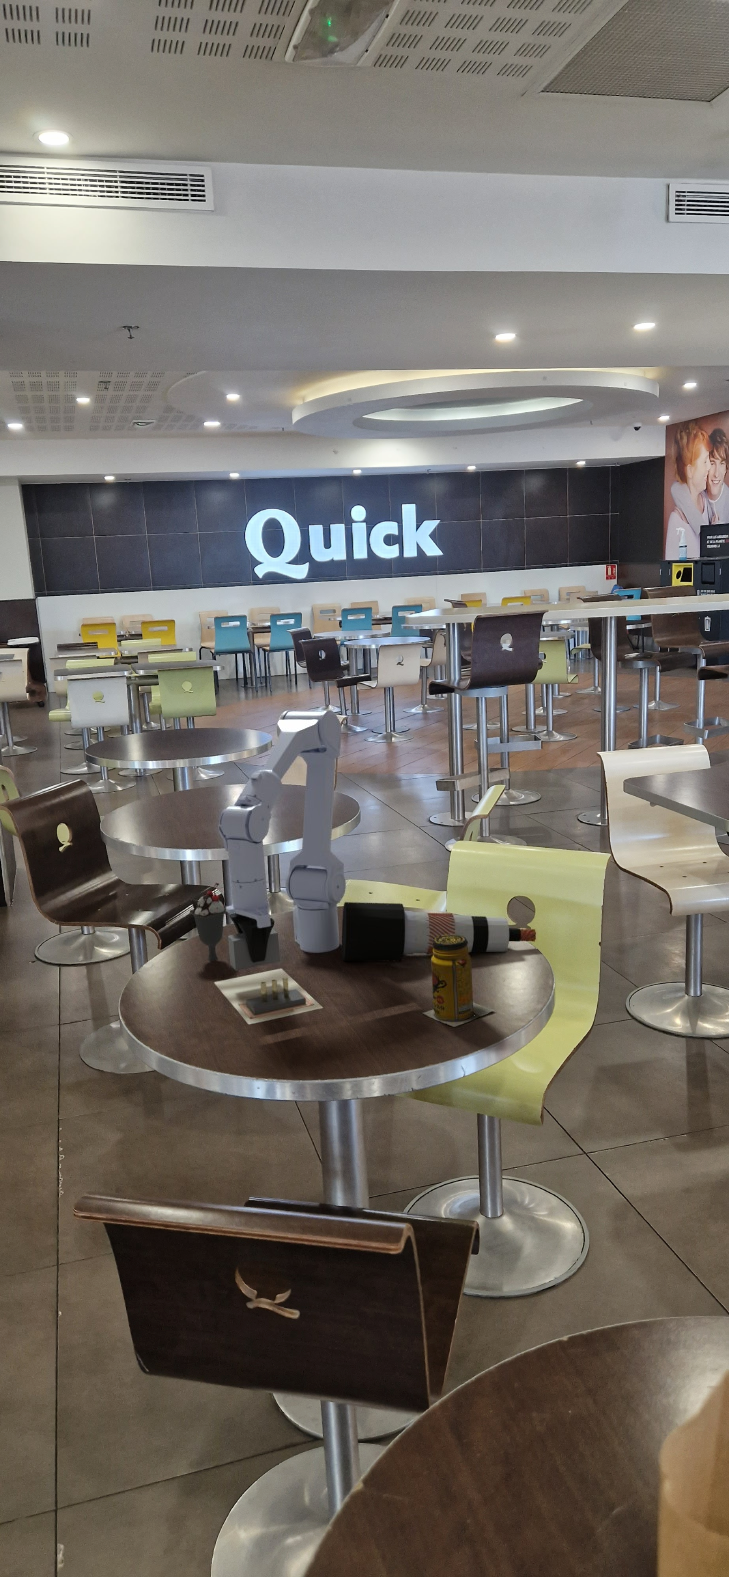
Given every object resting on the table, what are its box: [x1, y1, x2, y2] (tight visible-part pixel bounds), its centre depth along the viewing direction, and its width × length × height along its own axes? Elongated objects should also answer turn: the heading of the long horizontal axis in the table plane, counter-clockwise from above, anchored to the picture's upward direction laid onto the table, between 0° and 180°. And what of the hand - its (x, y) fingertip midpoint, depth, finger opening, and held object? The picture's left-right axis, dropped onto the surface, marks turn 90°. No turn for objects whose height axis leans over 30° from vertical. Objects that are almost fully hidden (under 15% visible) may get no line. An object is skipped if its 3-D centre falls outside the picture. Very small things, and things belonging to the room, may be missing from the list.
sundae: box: [189, 882, 228, 962], centre depth 180 cm, size 7×7×15 cm
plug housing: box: [227, 927, 281, 971], centre depth 166 cm, size 3×8×5 cm, turn 114°
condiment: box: [422, 935, 495, 1028], centre depth 153 cm, size 7×8×12 cm
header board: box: [213, 968, 324, 1025], centre depth 163 cm, size 20×12×5 cm, turn 24°
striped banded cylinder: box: [341, 901, 537, 962], centre depth 179 cm, size 10×34×10 cm, turn 92°
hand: (254, 957), depth 167 cm, fingers closed on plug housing, 3 cm apart
